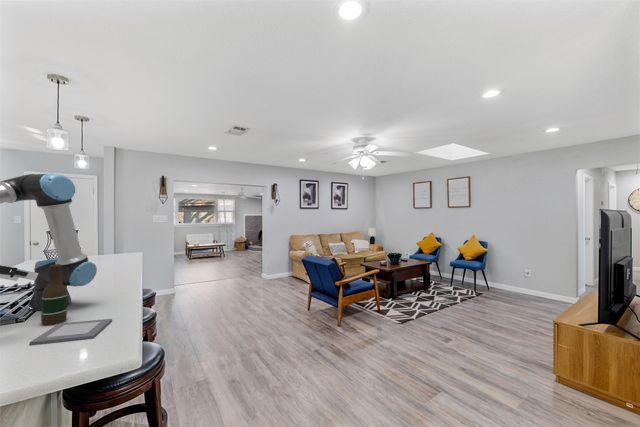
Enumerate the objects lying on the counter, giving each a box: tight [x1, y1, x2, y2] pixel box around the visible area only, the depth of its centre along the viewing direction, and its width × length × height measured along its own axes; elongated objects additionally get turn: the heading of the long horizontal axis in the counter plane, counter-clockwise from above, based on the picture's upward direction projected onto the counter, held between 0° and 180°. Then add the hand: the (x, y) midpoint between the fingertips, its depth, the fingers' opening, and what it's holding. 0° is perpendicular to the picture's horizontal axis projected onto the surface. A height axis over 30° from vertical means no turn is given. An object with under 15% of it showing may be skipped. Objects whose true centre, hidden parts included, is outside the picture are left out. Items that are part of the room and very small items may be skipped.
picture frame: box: [28, 318, 113, 346], centre depth 106 cm, size 18×18×1 cm
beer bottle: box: [40, 264, 68, 327], centre depth 115 cm, size 8×8×24 cm
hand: (27, 277), depth 108 cm, fingers open, 13 cm apart
